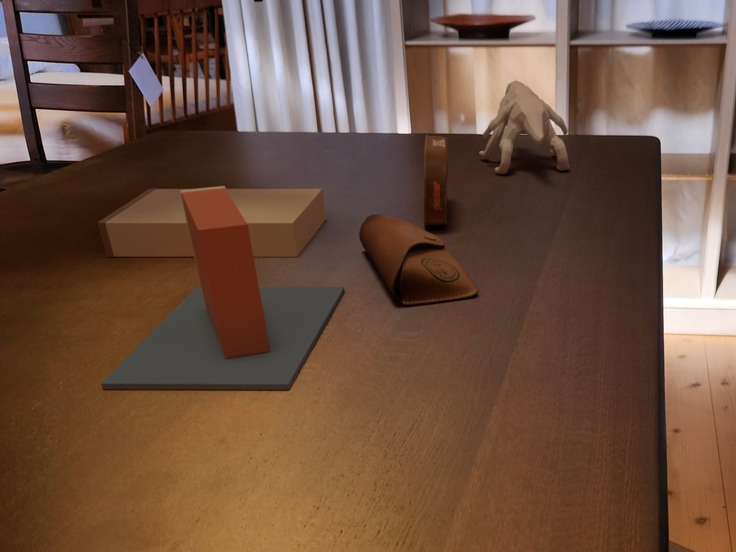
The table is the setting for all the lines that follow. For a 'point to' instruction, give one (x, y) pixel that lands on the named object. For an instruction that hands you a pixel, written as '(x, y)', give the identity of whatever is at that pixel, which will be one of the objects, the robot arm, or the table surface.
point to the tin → (435, 180)
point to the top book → (226, 270)
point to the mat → (204, 354)
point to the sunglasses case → (414, 262)
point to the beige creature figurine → (524, 126)
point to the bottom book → (170, 231)
